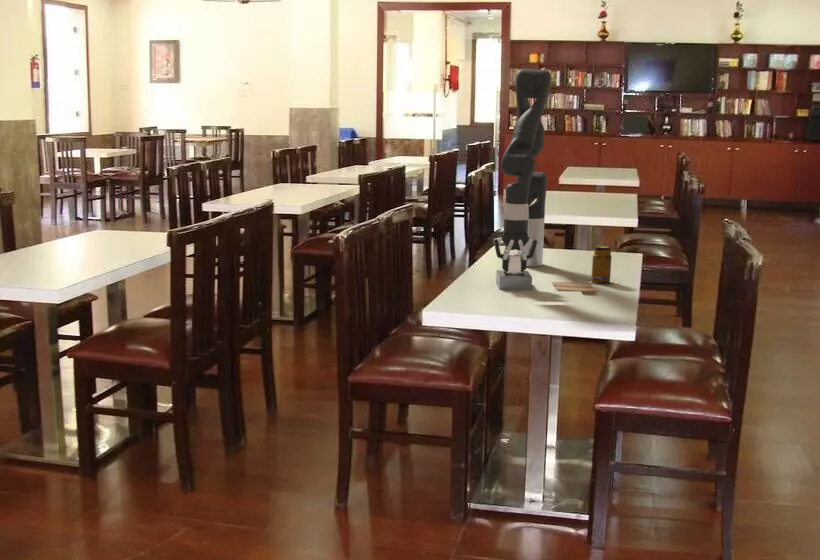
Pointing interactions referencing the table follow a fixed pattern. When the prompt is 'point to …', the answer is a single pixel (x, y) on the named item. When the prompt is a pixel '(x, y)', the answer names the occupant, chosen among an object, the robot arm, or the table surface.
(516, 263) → the plug
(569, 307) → the table surface
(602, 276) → the condiment
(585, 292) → the board
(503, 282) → the housing
